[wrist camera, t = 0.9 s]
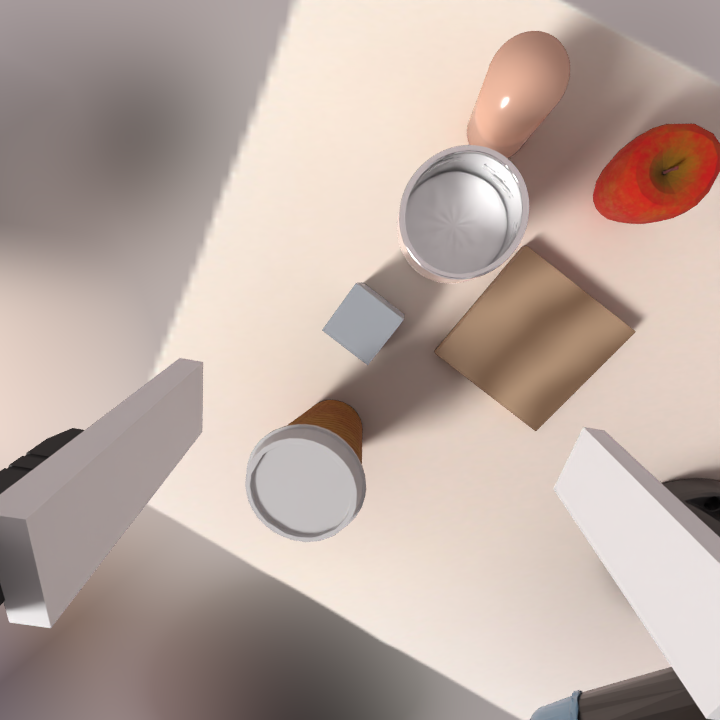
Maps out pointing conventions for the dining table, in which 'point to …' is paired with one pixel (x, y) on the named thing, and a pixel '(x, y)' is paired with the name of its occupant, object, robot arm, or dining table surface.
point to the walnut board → (533, 338)
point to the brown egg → (519, 91)
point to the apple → (658, 174)
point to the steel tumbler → (462, 214)
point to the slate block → (363, 322)
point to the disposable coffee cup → (309, 474)
